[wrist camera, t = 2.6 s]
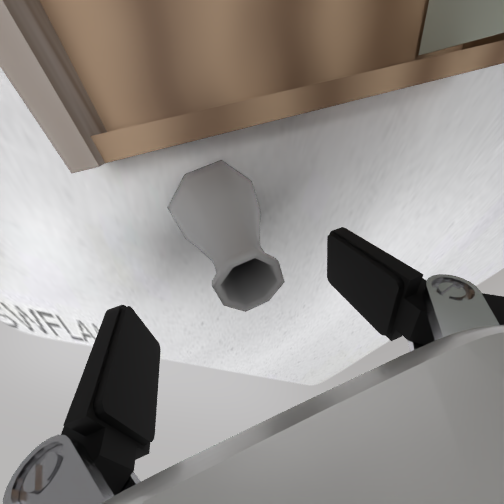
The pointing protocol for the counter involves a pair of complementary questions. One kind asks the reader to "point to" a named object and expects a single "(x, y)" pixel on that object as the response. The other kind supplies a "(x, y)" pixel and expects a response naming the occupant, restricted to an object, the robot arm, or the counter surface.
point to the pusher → (460, 22)
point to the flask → (227, 233)
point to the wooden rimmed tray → (208, 65)
